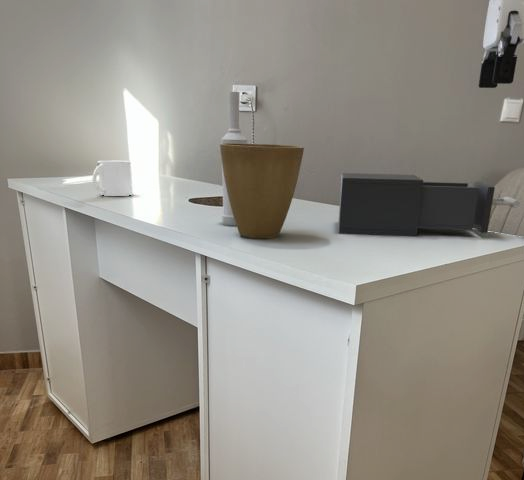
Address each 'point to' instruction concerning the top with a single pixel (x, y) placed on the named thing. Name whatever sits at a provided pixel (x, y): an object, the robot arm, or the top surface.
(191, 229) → the top surface
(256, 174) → the plant pot
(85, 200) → the top surface
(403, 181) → the cabinet
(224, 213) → the bottle
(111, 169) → the mug
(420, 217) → the drawer
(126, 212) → the top surface
